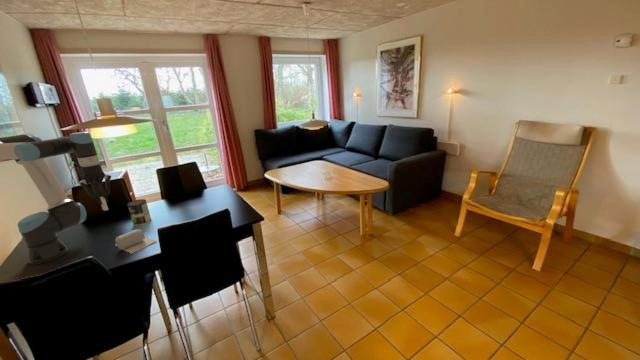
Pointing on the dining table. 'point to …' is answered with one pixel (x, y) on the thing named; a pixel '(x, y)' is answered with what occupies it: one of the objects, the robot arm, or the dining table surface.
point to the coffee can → (139, 212)
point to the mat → (139, 245)
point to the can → (129, 239)
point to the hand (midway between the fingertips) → (105, 209)
